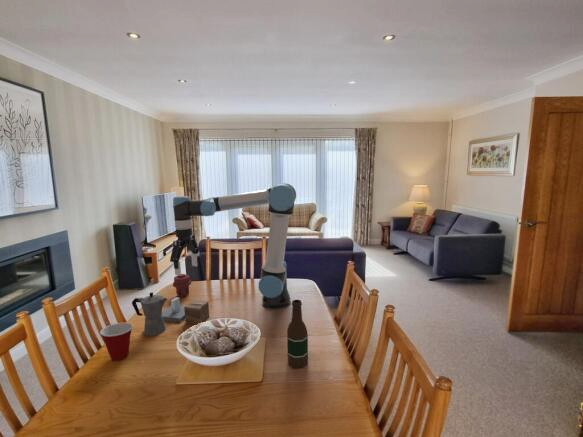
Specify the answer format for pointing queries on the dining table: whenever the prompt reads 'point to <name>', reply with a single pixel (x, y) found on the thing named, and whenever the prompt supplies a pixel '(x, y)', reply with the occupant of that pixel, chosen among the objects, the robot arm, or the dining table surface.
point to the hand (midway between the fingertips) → (186, 270)
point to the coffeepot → (151, 313)
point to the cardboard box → (196, 311)
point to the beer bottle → (297, 338)
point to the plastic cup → (117, 340)
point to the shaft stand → (174, 311)
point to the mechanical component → (182, 284)
